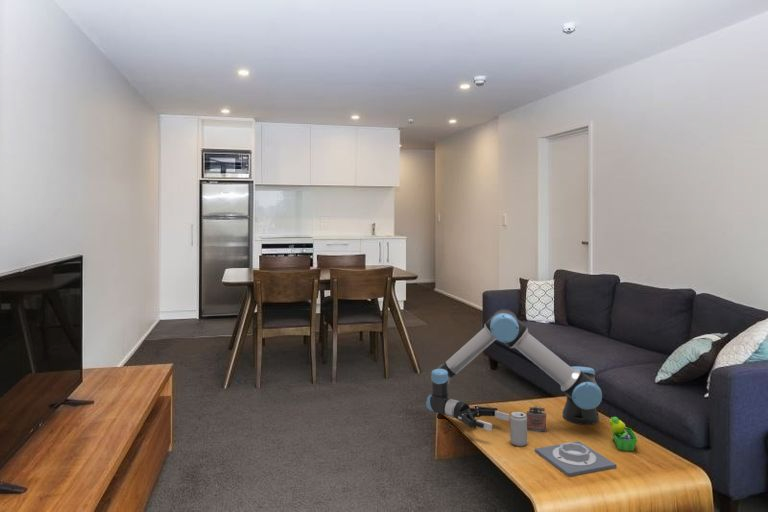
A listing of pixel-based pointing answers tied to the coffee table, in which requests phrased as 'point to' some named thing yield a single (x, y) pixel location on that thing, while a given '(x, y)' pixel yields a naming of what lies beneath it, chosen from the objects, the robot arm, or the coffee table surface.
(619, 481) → the coffee table surface
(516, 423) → the beverage can
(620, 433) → the fruit basket
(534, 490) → the coffee table surface
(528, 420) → the brown piece
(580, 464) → the board
